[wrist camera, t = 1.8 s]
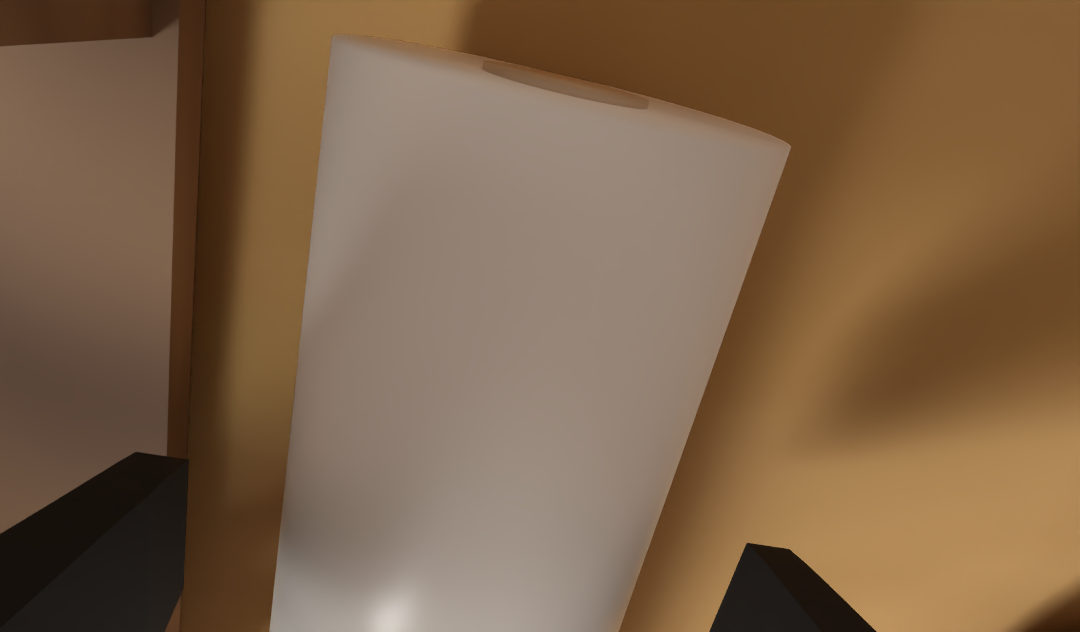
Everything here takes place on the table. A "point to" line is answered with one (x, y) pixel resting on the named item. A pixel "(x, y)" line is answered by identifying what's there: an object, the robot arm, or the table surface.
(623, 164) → the cylinder
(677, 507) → the table surface
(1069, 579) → the table surface
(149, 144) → the holder
